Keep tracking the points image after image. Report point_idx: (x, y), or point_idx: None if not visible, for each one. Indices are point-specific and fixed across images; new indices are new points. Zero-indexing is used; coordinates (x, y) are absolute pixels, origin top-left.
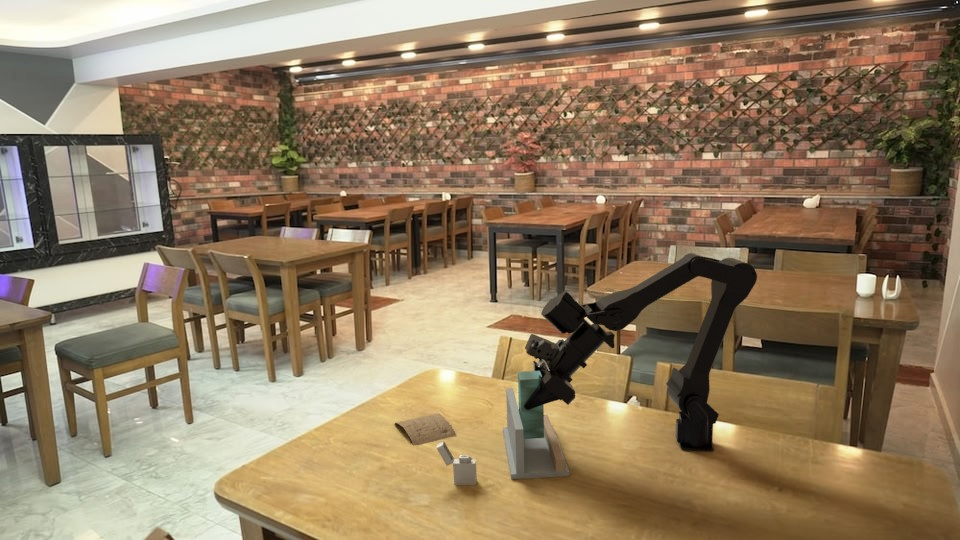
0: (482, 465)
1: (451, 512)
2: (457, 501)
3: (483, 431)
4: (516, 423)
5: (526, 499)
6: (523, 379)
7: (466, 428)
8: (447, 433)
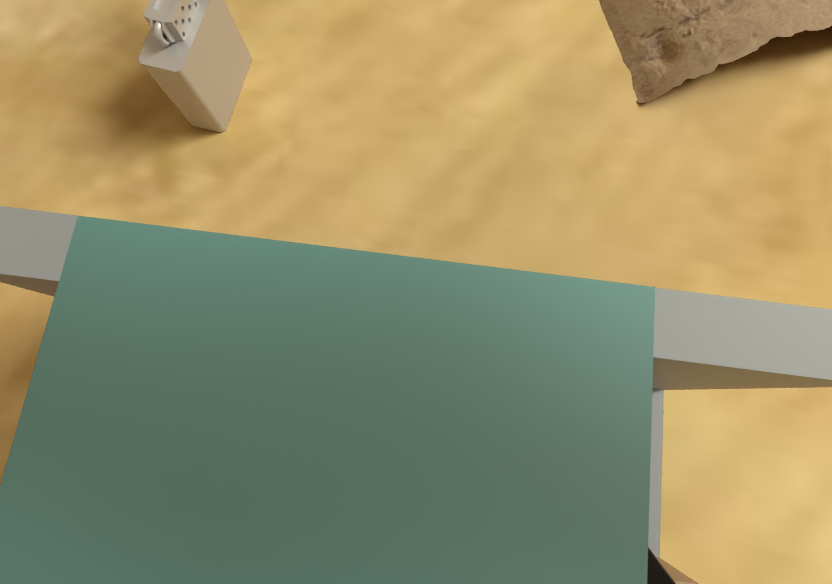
0: (336, 174)
1: (37, 19)
2: (98, 46)
3: (671, 234)
4: (67, 235)
5: (10, 296)
6: (76, 305)
7: (716, 161)
8: (655, 63)
